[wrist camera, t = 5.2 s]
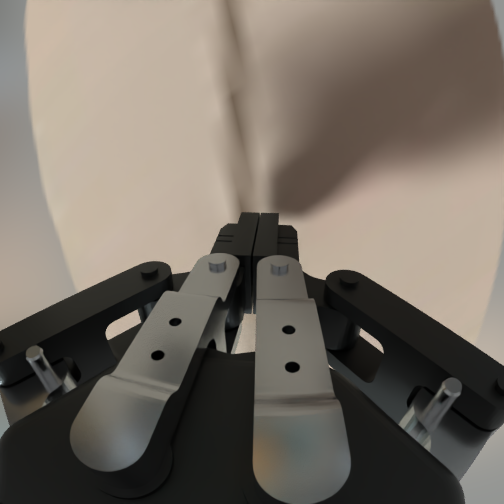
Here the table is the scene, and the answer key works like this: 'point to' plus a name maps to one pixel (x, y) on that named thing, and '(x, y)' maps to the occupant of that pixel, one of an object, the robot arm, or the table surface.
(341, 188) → the table surface
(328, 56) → the table surface
